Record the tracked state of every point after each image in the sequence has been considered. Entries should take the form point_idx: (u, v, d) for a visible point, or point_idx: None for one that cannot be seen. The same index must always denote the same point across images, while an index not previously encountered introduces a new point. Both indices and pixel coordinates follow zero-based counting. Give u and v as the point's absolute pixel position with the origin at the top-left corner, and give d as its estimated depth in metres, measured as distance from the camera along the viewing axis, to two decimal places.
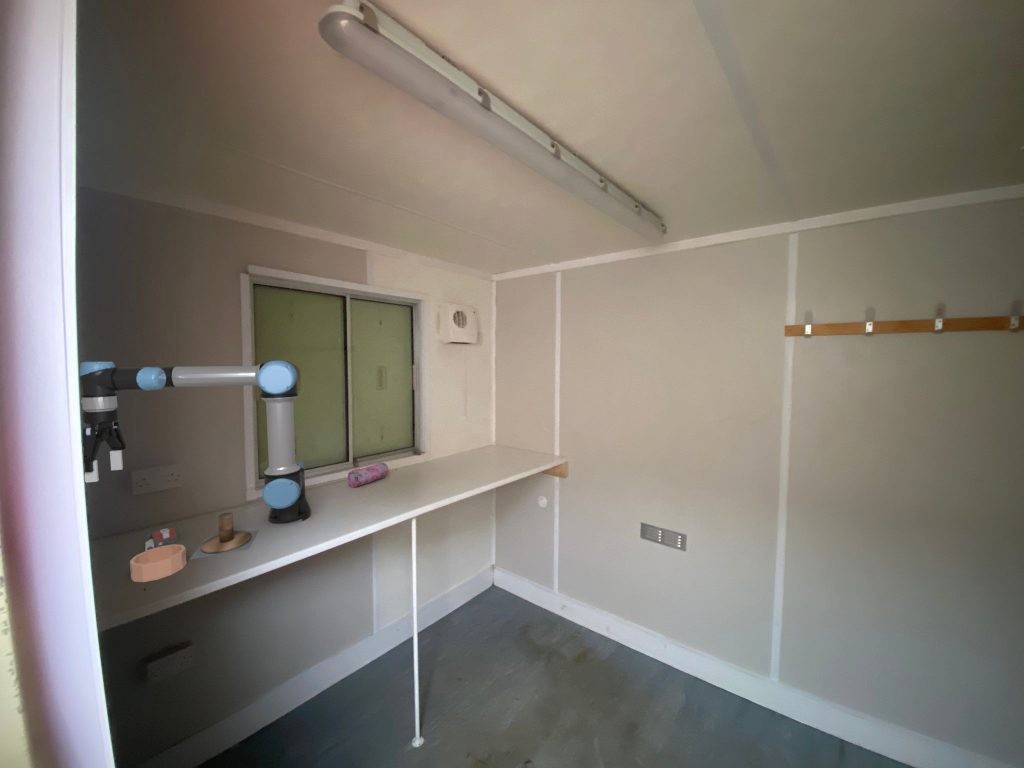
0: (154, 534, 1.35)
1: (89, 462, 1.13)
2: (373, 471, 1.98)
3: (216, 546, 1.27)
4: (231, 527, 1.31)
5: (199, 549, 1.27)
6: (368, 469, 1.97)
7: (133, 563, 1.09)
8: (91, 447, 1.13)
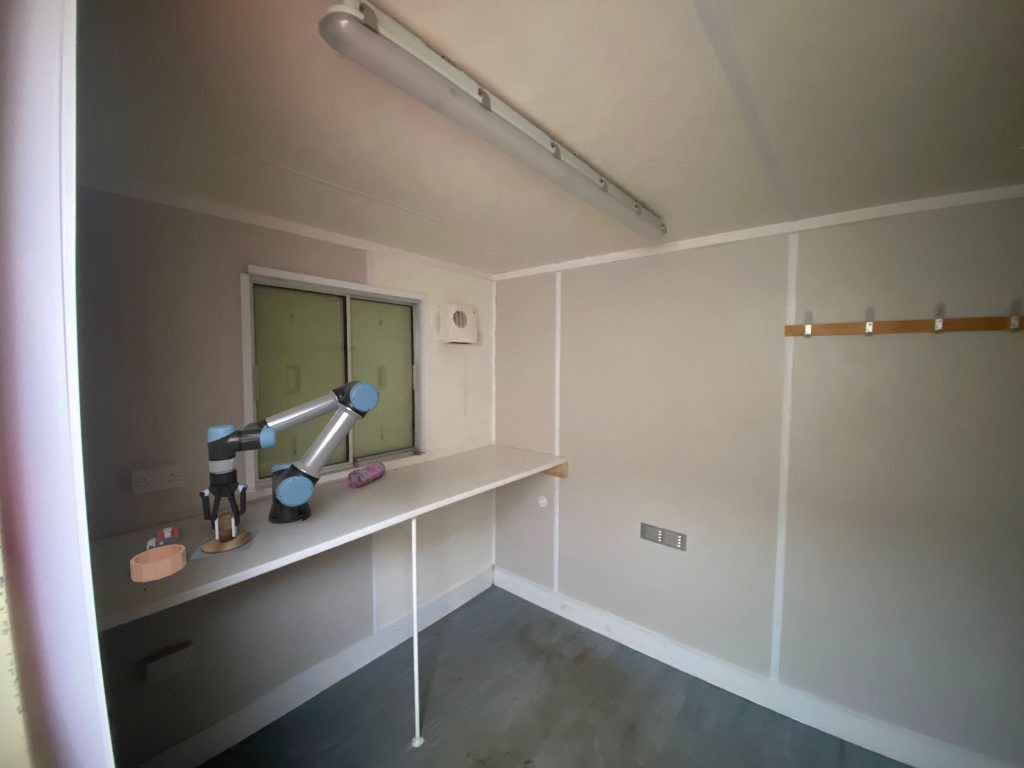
0: (158, 533, 1.36)
1: (211, 521, 1.29)
2: (373, 470, 1.99)
3: (216, 546, 1.27)
4: (231, 527, 1.31)
5: (199, 549, 1.27)
6: (368, 469, 1.98)
7: (133, 563, 1.09)
8: (203, 509, 1.27)
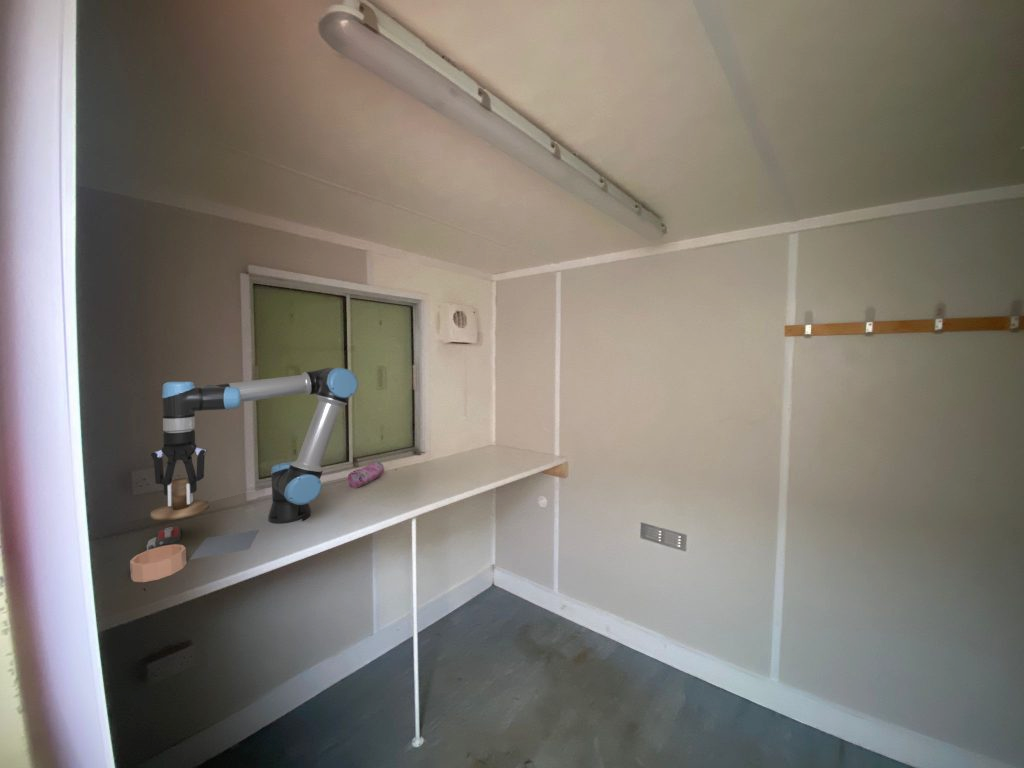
0: (159, 532, 1.36)
1: None
2: (372, 470, 1.99)
3: (167, 513, 1.15)
4: (186, 493, 1.19)
5: (199, 549, 1.27)
6: (367, 469, 1.98)
7: (133, 563, 1.09)
8: (155, 472, 1.15)
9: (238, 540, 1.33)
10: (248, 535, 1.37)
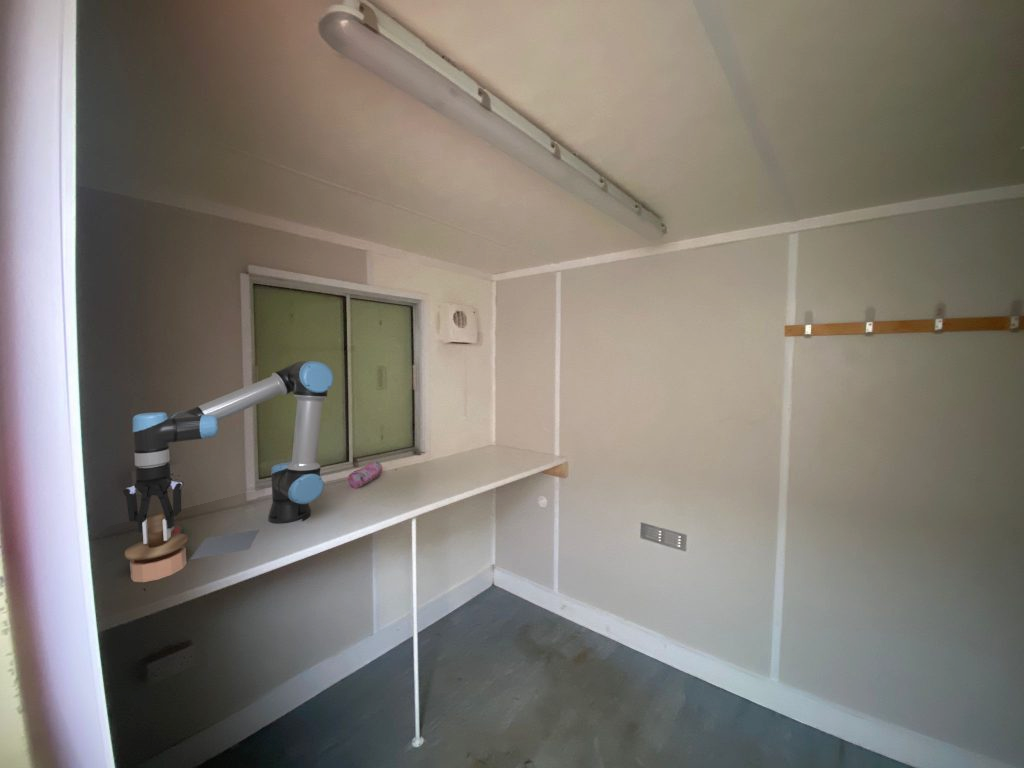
0: None
1: None
2: (372, 470, 2.00)
3: (143, 551, 1.10)
4: (162, 529, 1.14)
5: (199, 549, 1.27)
6: (367, 469, 1.98)
7: (133, 563, 1.09)
8: (128, 509, 1.10)
9: (238, 540, 1.33)
10: (248, 535, 1.37)
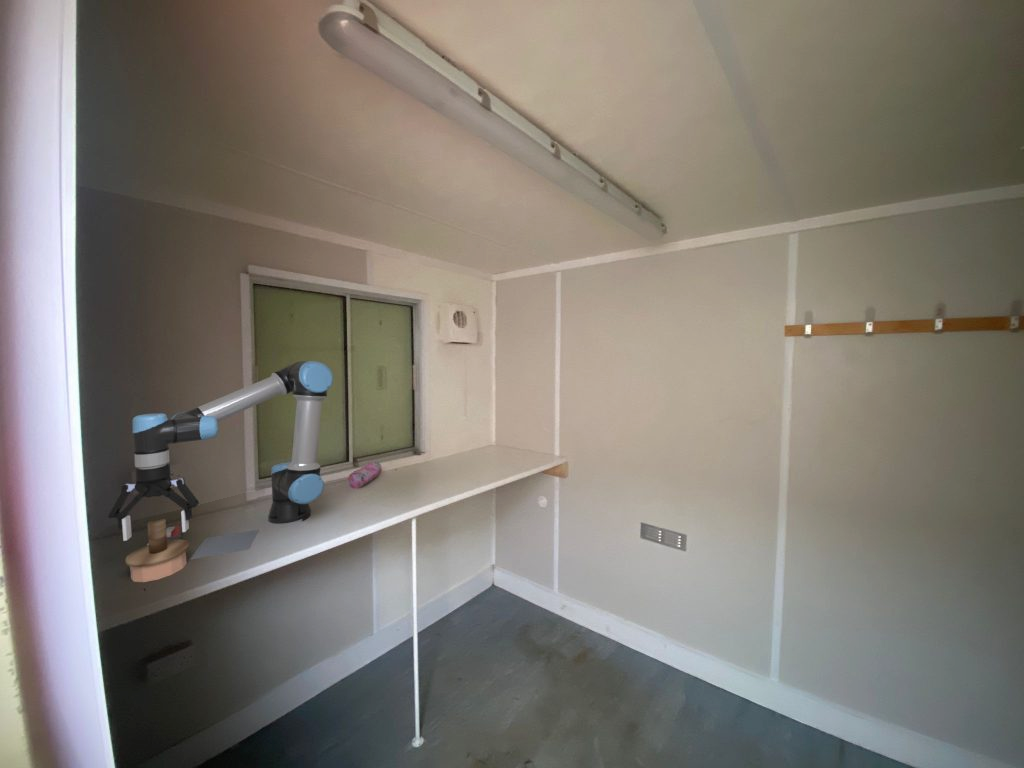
0: None
1: None
2: (372, 470, 2.00)
3: (143, 558, 1.10)
4: (163, 535, 1.14)
5: (199, 549, 1.27)
6: (367, 469, 1.98)
7: None
8: (114, 505, 1.09)
9: (238, 540, 1.33)
10: (248, 535, 1.37)
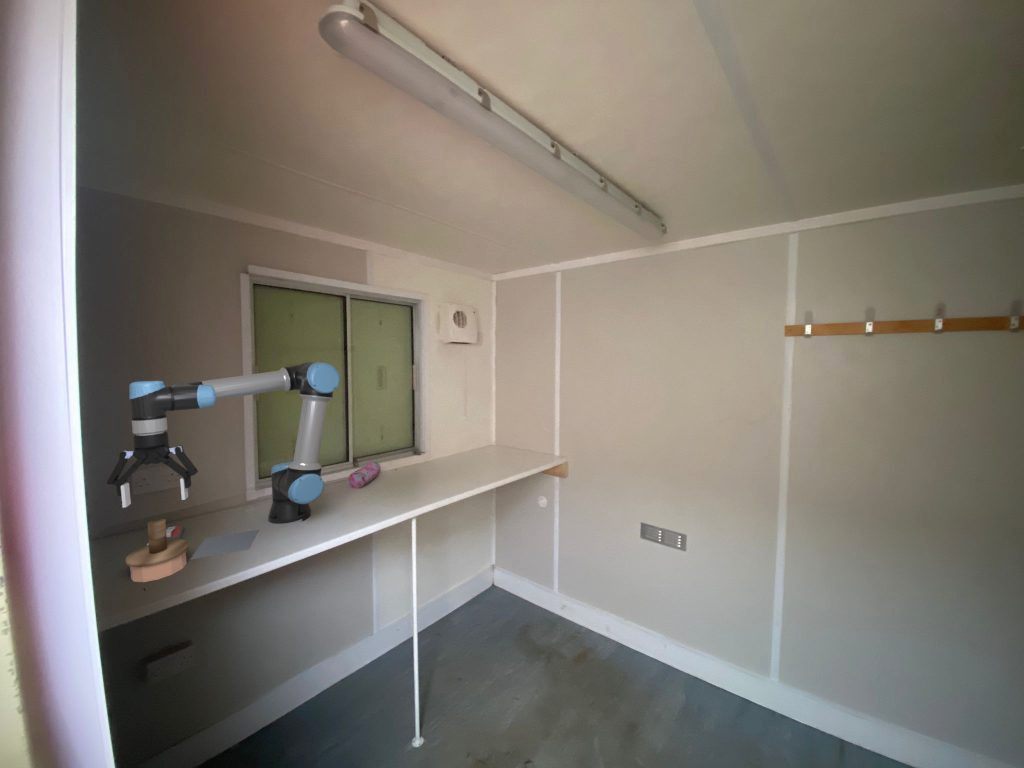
0: None
1: None
2: (371, 470, 2.00)
3: (143, 558, 1.10)
4: (163, 535, 1.14)
5: (199, 549, 1.27)
6: (367, 469, 1.98)
7: None
8: None
9: (238, 540, 1.33)
10: (248, 535, 1.37)
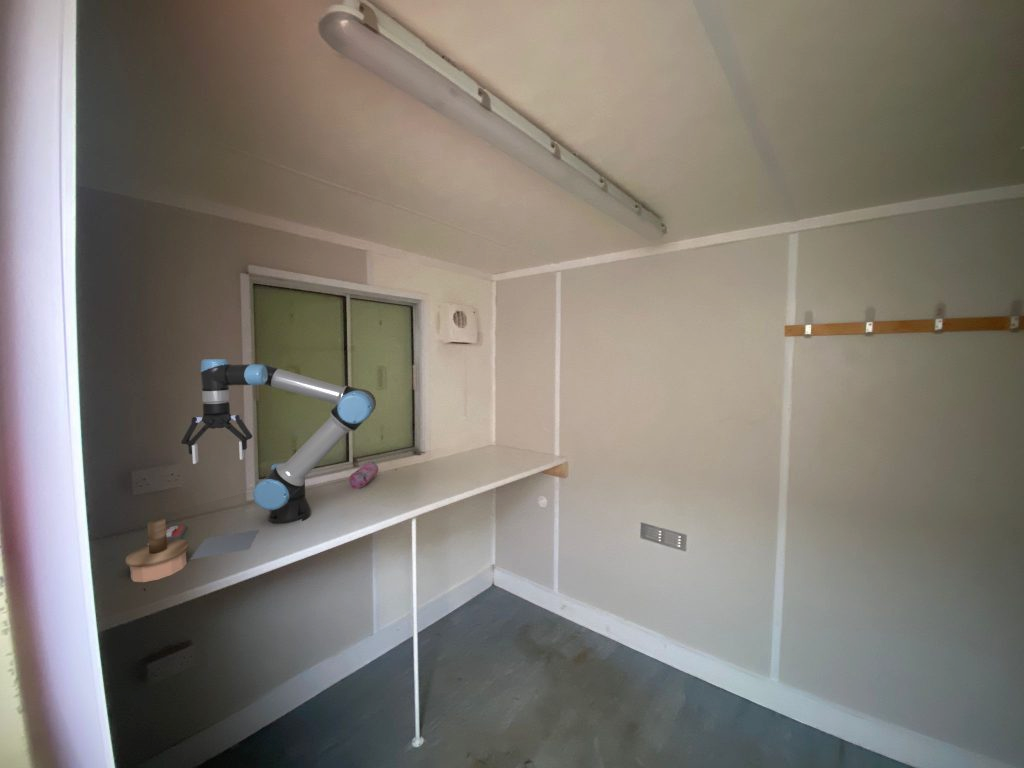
0: None
1: None
2: (371, 470, 2.00)
3: (143, 558, 1.10)
4: (163, 535, 1.14)
5: (199, 549, 1.27)
6: (366, 469, 1.98)
7: None
8: (186, 433, 1.30)
9: (238, 540, 1.33)
10: (248, 535, 1.37)
